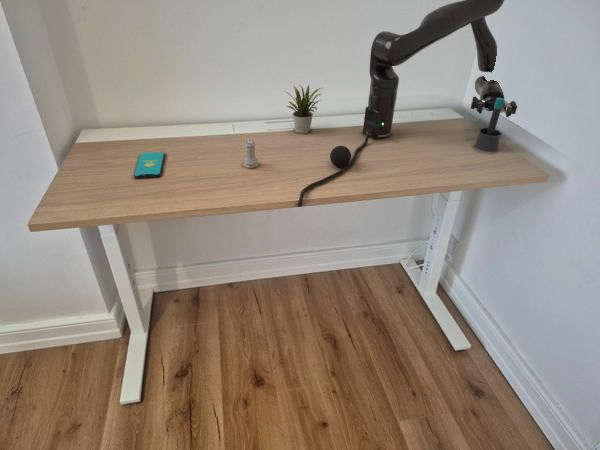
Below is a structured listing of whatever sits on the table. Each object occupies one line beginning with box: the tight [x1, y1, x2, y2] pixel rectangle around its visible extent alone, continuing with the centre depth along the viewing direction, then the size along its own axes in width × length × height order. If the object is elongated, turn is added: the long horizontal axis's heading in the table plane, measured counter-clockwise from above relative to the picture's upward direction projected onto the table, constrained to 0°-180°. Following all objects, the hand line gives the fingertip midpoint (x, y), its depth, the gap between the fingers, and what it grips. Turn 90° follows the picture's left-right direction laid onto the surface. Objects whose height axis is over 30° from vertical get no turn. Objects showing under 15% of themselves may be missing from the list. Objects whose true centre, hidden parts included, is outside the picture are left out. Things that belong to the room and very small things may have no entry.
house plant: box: [283, 84, 323, 135], centre depth 146 cm, size 14×14×16 cm
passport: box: [133, 151, 165, 179], centre depth 126 cm, size 7×1×15 cm
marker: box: [486, 97, 506, 136], centre depth 137 cm, size 2×2×16 cm
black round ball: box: [329, 145, 352, 168], centre depth 129 cm, size 6×6×10 cm
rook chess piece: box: [243, 138, 259, 169], centre depth 126 cm, size 4×4×8 cm
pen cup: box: [474, 127, 503, 153], centre depth 140 cm, size 7×7×6 cm
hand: (494, 112), depth 138 cm, fingers open, 8 cm apart
